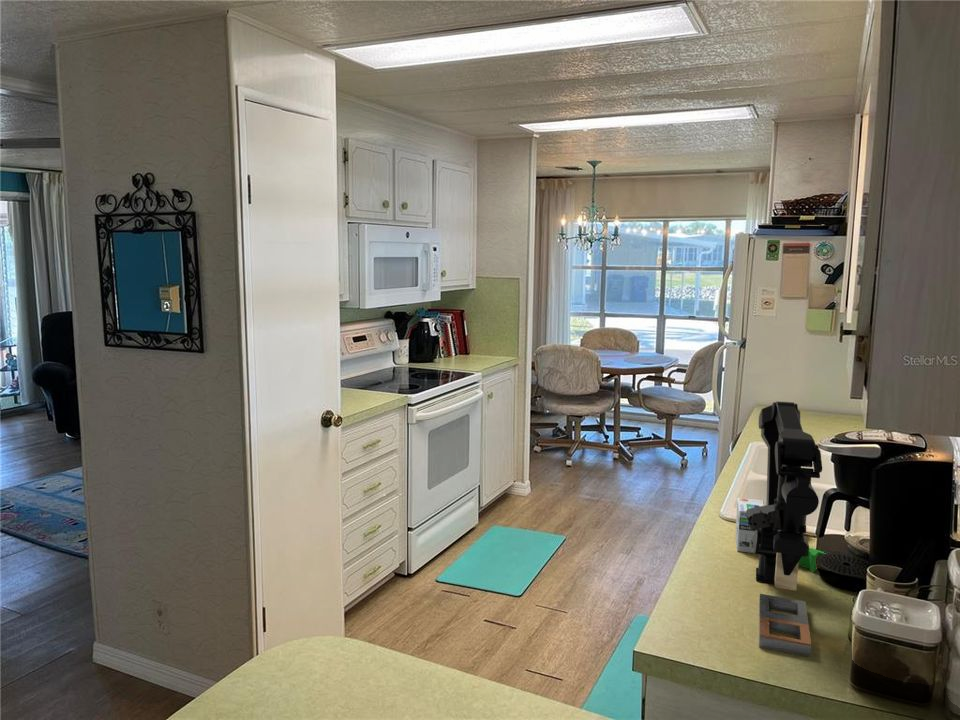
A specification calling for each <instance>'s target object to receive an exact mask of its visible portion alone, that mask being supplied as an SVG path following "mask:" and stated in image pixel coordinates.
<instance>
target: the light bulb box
mask: <svg viewBox="0 0 960 720" xmlns="http://www.w3.org/2000/svg"><path fill="white" fill-rule="evenodd" d="M764 501H765V500H762V499H754V498H753V499H751V498H744V497H737V501H736V514H735V515H736V519H735V535H734V536H735V538H734V539H735V546H736V551H737V552H741V553H742V552H743V553H750V554H755V553H754V549H753V537H754V534H755V531H756V530H750V526H749V524H748V520H747V517H746V510H747V509H750V508H755V507H760V506H765V502H764ZM759 545H760V544H759Z"/></svg>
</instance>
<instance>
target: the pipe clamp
mask: <svg viewBox="0 0 960 720" xmlns="http://www.w3.org/2000/svg"><path fill="white" fill-rule="evenodd" d="M824 552H825V551H823V552H822V550H819V549H815V548H811V547H809V555H808V556H806V557H804V556H802V558H801V559H800V560H799V564H798V567H803V566H804V567H803V568H806V567H807V568H806V569H808V568H809V569H808V570H809V572H810V573H815V572H816V570H817V569H816V563H815V562H816V558H817V556H818V555H819V554H826V553H824ZM814 571H815V572H814Z"/></svg>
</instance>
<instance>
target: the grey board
mask: <svg viewBox="0 0 960 720" xmlns="http://www.w3.org/2000/svg"><path fill="white" fill-rule="evenodd" d="M770 609H774V610H780V611H787V612H790V613H791V612H793V613H796V614H789V613H783V612H779V611H778V612H777V611H772V610H770ZM808 618H809V617H808V612H807V602H806V601H805V600H801V599H800V600H799V599H794V598H788V597H782V596H777V595H770V594H764V593H760V594H759V602H758V624H759V625H758V630H759V631H758V634H759V635H758V647H759V648H760V649H766V650H771V651H776V652H782V653H787V654H792V655H797V656H802V657H806V658H811V656H812V655H811V654H812V639H811V632H810V624H809V619H808ZM770 632H773V633H774V632H776V633H781V634H785V635H790V636H791V635H792V636H796V637H797V636H798V639H797V638H792V637H787V636H781V635H776V634H772V633H770Z"/></svg>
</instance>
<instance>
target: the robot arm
mask: <svg viewBox="0 0 960 720" xmlns="http://www.w3.org/2000/svg"><path fill="white" fill-rule="evenodd" d="M758 428H759V429H760V437H761V439H762V441H763V442H764V444H765V446H766V447H767V465H766V466H767V467H766V468H767V470H766V471H767V473H766V503H765V504H764V506H760V507H755V508H750V509H747V510H746V517H747V520H748V524H749V526H750V530H756V531H755V534H754V537H753V549H754V553H753V554H754V555H758V566H757V567H755V568H756V569H755V581H757V582H761V583H767V584H768V583H769V584H774V585H775V567H776V555H777V553H781V557H782V564H783V572H784V575H788V576H789V575H790V574H791V573H792V571H793V570H794V568H795V566H796V565H797V563H798V562H799V560H800V559H801V558H802V556H804V557H806V556H808V555H809V548H810V543H809V540H808V539H807V537H806V536H805V534H806V533H807V516H809V515H811V514H813V513H814V512H815V511H817V508H818V507H819V503H820V501H819V496H818V494H817V493H816V491H815V489H814V487H813V486H812V478H813V479H820V478H821V473H822V472H823V461H822V452H821V450H820V446H819V445H818V444H816V442H815V439H814V438H813V436H812V435H811V434H809V433H808V432H805V431H804V430H803V427H802V424H801V411H800V409H799V408H798V403H795V402H794V401H793V402H792V401H791V402H790V401H779V400H778V401H773V402H772V404H771V405H769V406H765V407H764V408H761V410H760V413H759V415H758ZM812 467H813V468H812ZM759 544H760V545H759Z"/></svg>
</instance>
